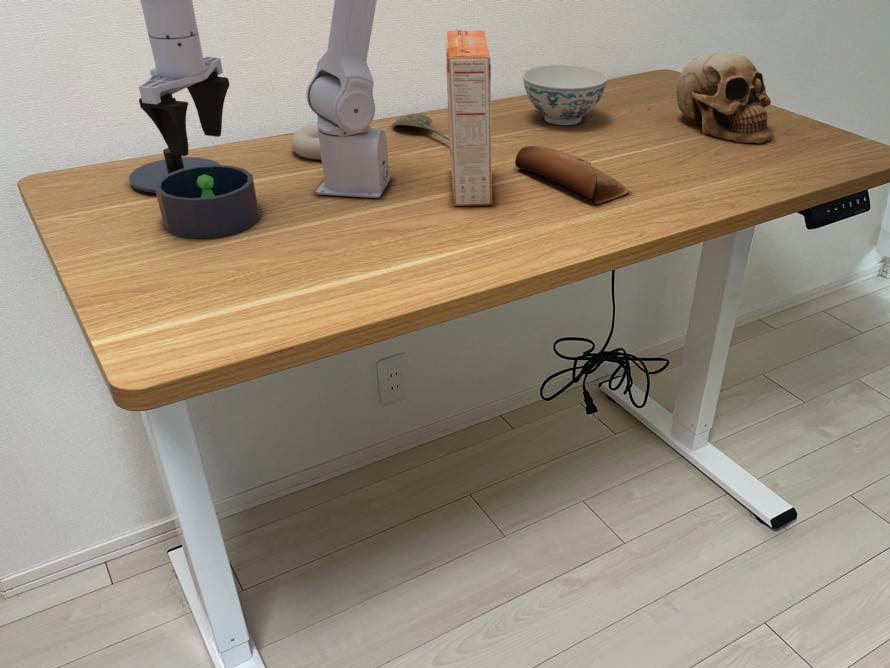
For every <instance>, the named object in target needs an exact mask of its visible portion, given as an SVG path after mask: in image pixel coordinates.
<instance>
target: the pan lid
mask: <svg viewBox="0 0 890 668" xmlns="http://www.w3.org/2000/svg"><path fill="white" fill-rule="evenodd" d="M162 153H163V158H164V159H159V160H154V161H152V162H148V163H146V164H143V165H141V166H139V167H137V168H135V169H134V170H133V171H131V172H130V174H129V176H128V180H129V184H130V185H131V187H133V188H134V189H136V190H138V191H141V192H146V193H151V194H152V193H153V194H156V191H155V187H156V182H157V181H158V180H160V179H161V178H162V177H164V176H165V175H167V174H170V173H172V172H175V171H177V170H180V169H185V168H189V167H194V166H204V165H222V164H221V163H219V162H217V160H213V159H209V158H205V157H197V156H196V157H195V156H194V157H193V156H189V157H188V156H179V155H172V154H171V152H170V150H169V148H168V147H166V148H164V149H163V150H162Z"/></svg>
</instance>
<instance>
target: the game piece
mask: <svg viewBox="0 0 890 668" xmlns="http://www.w3.org/2000/svg"><path fill="white" fill-rule="evenodd" d="M213 185H214V180H213V178H212V177H210V176H208V175H205V174H203V175H201V176H199V177H198V179H197V186H198V187H200V188H202V189H203V190H202V195H201V198H204V197H214V196H215V195H214V193H213V192H212V190H211V189H210V188H212V187H213Z"/></svg>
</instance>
